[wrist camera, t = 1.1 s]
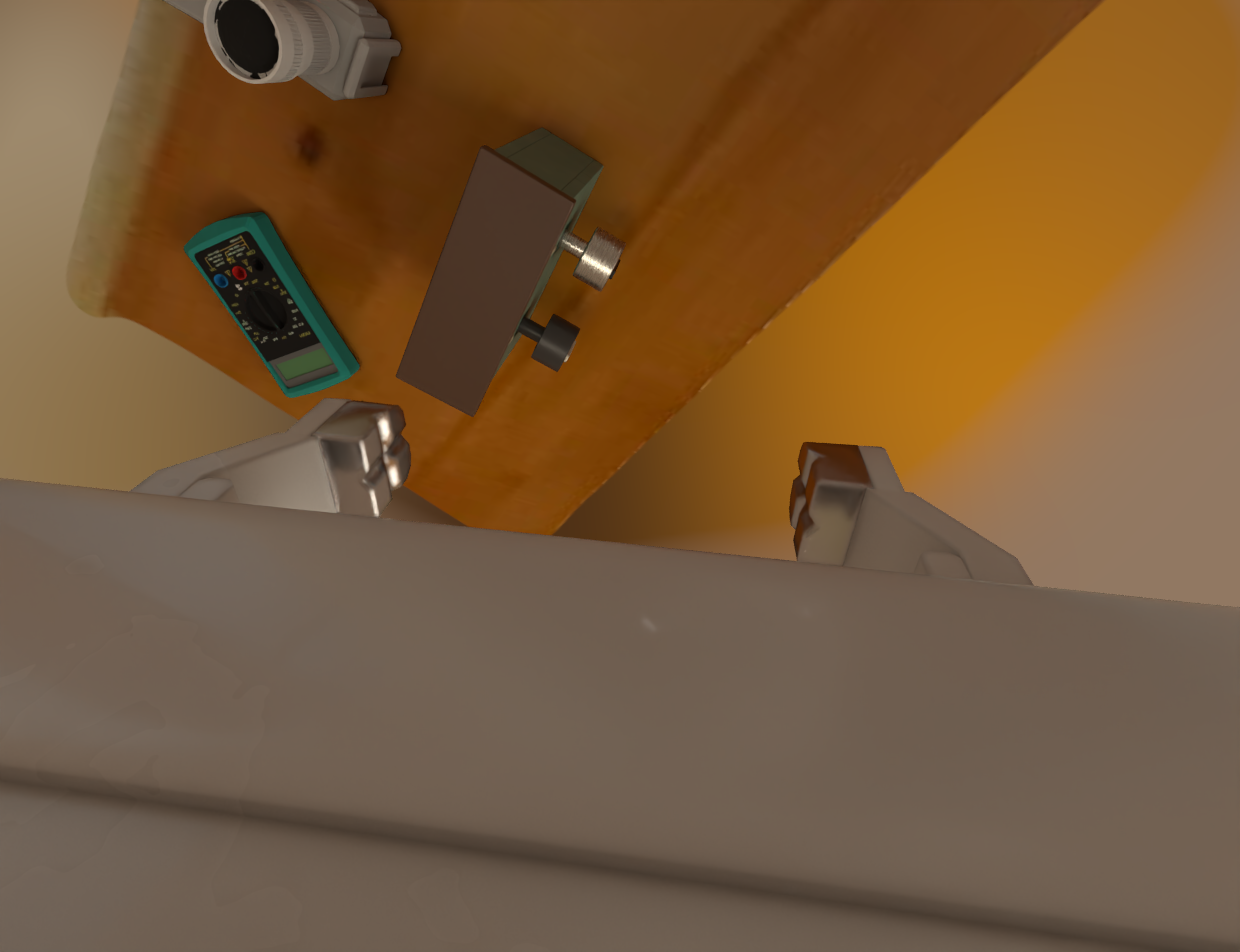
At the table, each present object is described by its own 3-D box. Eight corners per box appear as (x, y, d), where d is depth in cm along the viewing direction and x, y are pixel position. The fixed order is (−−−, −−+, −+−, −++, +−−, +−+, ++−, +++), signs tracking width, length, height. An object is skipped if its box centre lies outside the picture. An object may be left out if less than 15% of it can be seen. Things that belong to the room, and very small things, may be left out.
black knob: (586, 322, 48) (577, 341, 45) (565, 361, 50) (555, 381, 47) (520, 285, 47) (506, 301, 44) (501, 325, 49) (487, 343, 46)
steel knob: (631, 239, 44) (625, 253, 41) (607, 284, 46) (599, 300, 43) (560, 196, 43) (549, 207, 40) (539, 244, 45) (526, 258, 42)
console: (609, 163, 46) (574, 203, 34) (523, 339, 54) (472, 417, 43) (539, 120, 45) (480, 145, 33) (463, 306, 53) (394, 377, 42)
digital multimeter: (263, 201, 50) (240, 209, 48) (366, 368, 58) (350, 382, 55) (195, 233, 53) (170, 242, 50) (302, 389, 60) (284, 404, 57)
